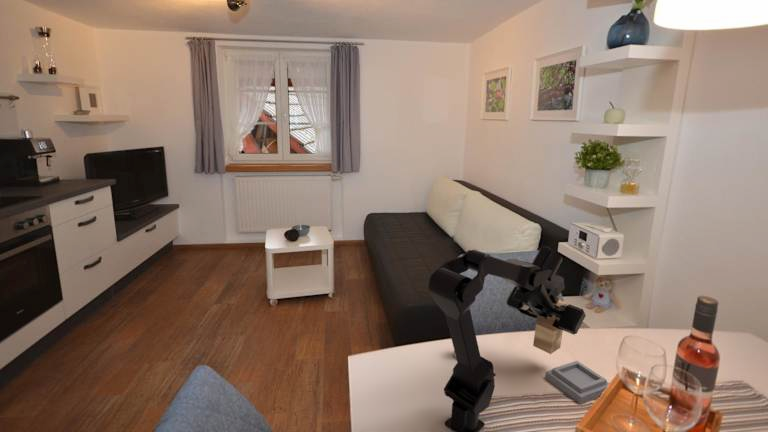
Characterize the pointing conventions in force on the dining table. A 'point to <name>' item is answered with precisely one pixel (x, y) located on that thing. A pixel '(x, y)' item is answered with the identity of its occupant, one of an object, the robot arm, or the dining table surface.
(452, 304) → the robot arm
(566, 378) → the base plate
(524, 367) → the dining table surface
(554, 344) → the oak brick column
